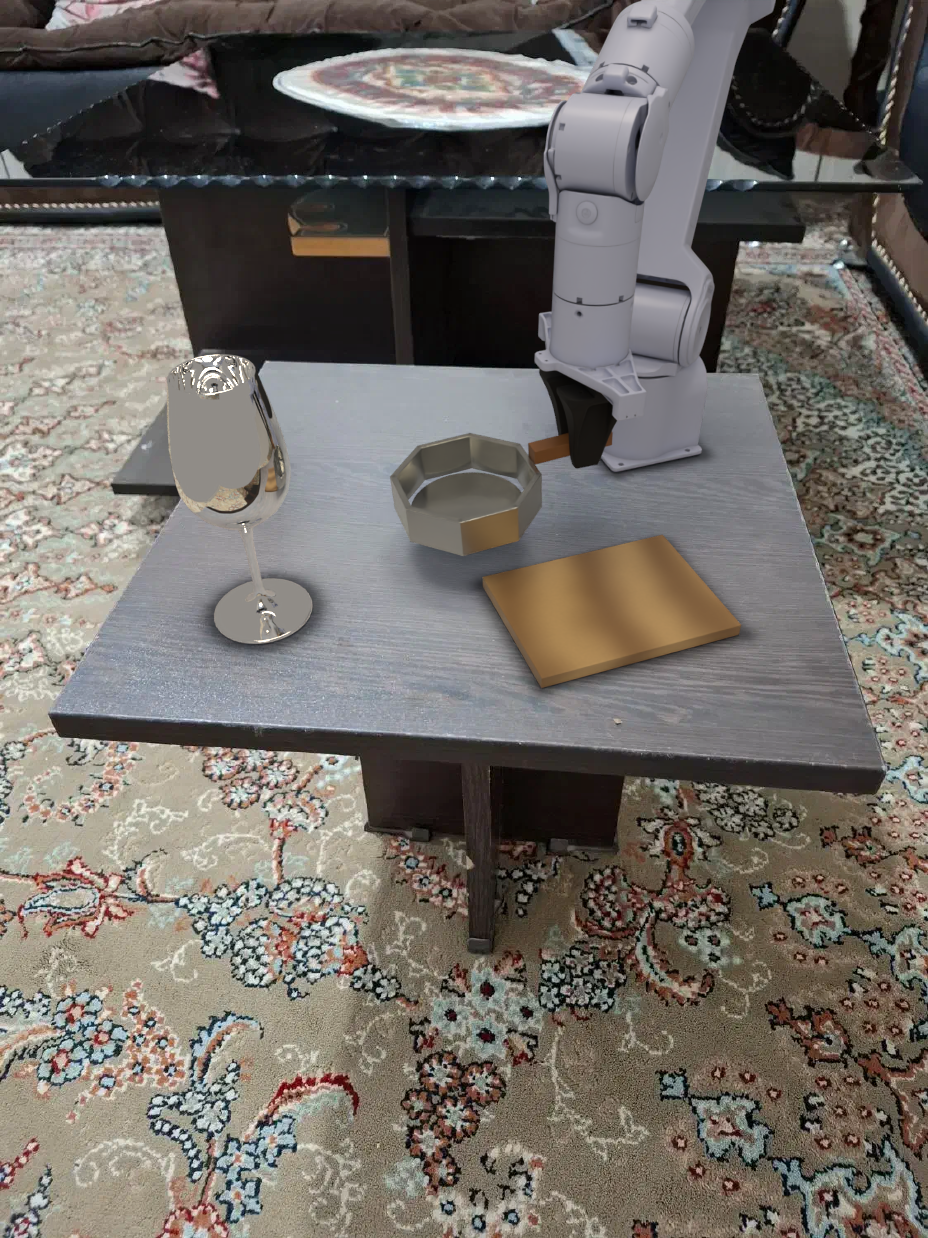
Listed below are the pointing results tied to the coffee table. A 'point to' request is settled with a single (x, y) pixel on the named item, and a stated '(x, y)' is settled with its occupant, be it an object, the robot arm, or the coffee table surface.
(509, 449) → the saucepan
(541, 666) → the cutting board
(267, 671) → the coffee table surface
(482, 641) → the coffee table surface
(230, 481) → the wineglass
